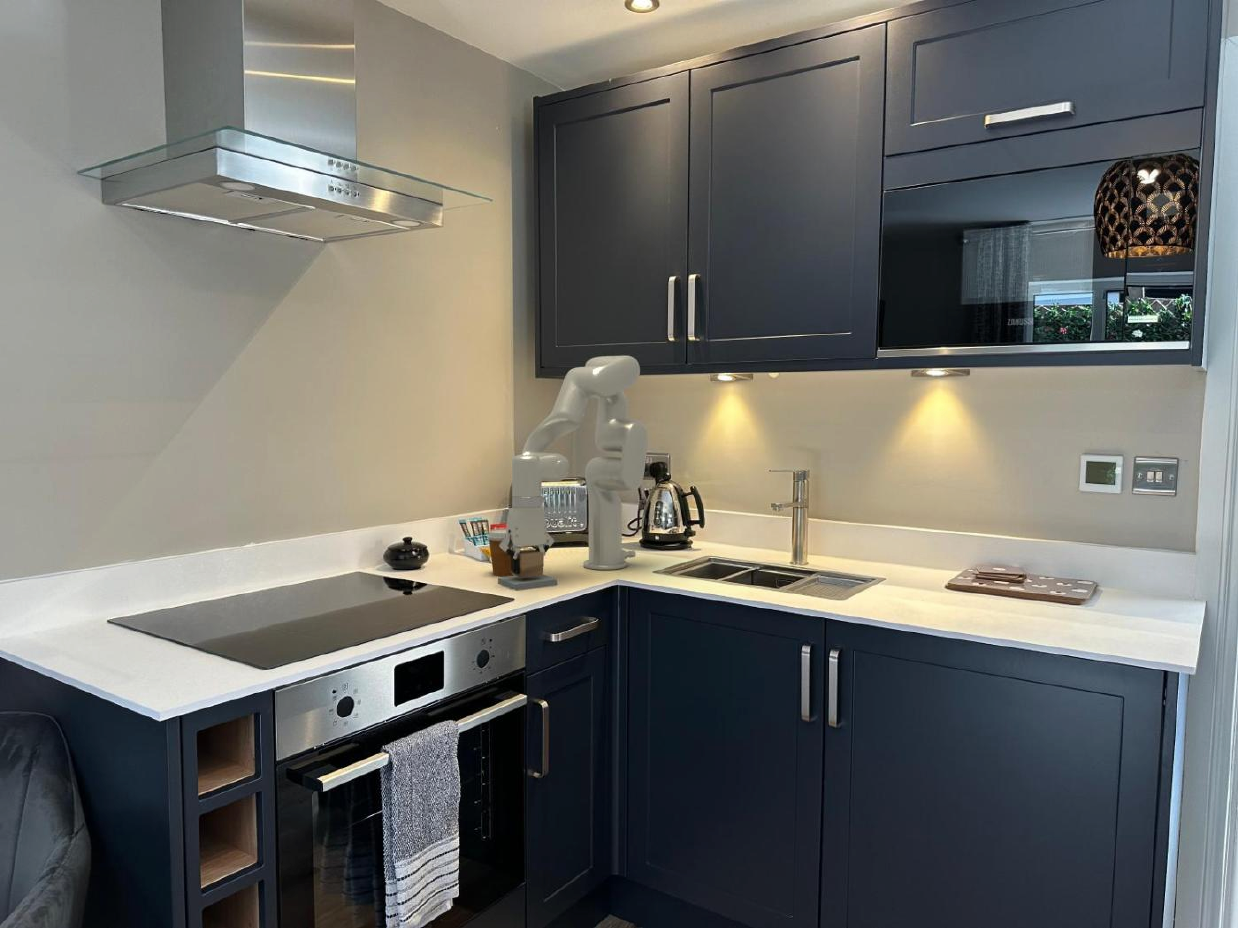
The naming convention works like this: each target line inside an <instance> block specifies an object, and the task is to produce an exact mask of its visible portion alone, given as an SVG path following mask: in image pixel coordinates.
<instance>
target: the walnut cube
mask: <svg viewBox="0 0 1238 928" xmlns="http://www.w3.org/2000/svg"><path fill="white" fill-rule="evenodd" d="M518 559H519V560H520V574H514V573H512V574H513V575H512V576H518V577H521V578H527V577H535V576H543V574H544V566H543V552H540V551H537V550H535V549H533V548H532V549H520V552H519V555H518Z"/></svg>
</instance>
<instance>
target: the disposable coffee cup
mask: <svg viewBox="0 0 1238 928" xmlns="http://www.w3.org/2000/svg"><path fill="white" fill-rule="evenodd" d="M486 537H487V540H488V543H489V552H490V559H491V566H492V567H491V568H492V575H494V576H497V577H508V576H514V575H513V574H512V570H511V558H510V557H509V556H508V555H507V554H506V553H505V551H504V550H502V549H501V548H500V547H499V545H500V543H501V542H502V541H503V540H504V538H505V537H506V528H495V529H490V530H488V534H487V535H486ZM507 546H508V547H509V549H511V547H512V546H509V545H507Z"/></svg>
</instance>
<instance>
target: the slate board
mask: <svg viewBox="0 0 1238 928" xmlns="http://www.w3.org/2000/svg"><path fill="white" fill-rule="evenodd" d="M497 585H500V586H503V587H505V588H508V589H510V590H513V589H514V590H513V591H515V590H516V591H523V590H529V589H536V588H543V587H545V588H546V587H551V586H557V585H558V579H557V578H555V577H552V576H549V575H546V574H544V573H543V576H535V577H527V578H521V577H518V576H515V575H512V576H499V577H497ZM522 589H523V590H522Z"/></svg>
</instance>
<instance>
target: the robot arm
mask: <svg viewBox="0 0 1238 928" xmlns="http://www.w3.org/2000/svg"><path fill="white" fill-rule="evenodd" d="M640 372H641V367H640V364H639V362H638V360H637V359H636V358H635V357H633V356H630V355H606V356H604V355H603V356H597V357H592V358H590V359H588V360H587V361H586V362H585V366H580V367H574V368H572V369H570V370H569V371H568V372H567V373H566V375H565V377H564V380H563V382H562V385H561V387H560V390H559V392H558V395H557V398H556V401H555V403H554V405H553V408H552V410H551V413H550V414H549V416H547V417H545V419H543V420H542V422H541V423H540V424H539V425H537V427H536V428H535V429H534V430H533V431H532V432H530V434H529V436H528V438H527V439H526V442H525V444H524V446H523V449H522V451H521V454H519V455H515V456H514V457H512V460H511V480H512V481H511V487H512V489H511V494H512V495H511V497H512V498H511V499H512V501H511V503H512V505H511V506H512V507H511V508H509V509H508V513H507V519H506V526H505V527H506V528H505V529H506V537H505V538H504V540H503V541H502V542H501V543H500V545H499V547H500V548H501V549H502V550H504V551H505V553H506V554H507V555H508V556H509V557H510V558H511V570H512V573H514V574H520V560H519V559H518V555H519V552H520V550H522V549H523V548H532V547H533V548H534V550H537V551H540V552H543V567H544V566H545V565H544V562H545V561H544V557H545V556H546V554H547V552H548V550H549V549H550V547H551V546H552V545H553V544H554V543H555V539H554V538H553V537H552V536H551V535H550V534H549V533H548V527H547V517H546V513H545V507H543V503H546V501H547V499H546V497H544V496H543V494H542V493H543V492H542V489H543V488H542V487H543V486H542V485H543V484H542V483H543V482H546V483H547V482H549V483H558V482H560V481H563V480H564V479H566V478H567V476H568V475H569V474H570V469H571V465H570V462H569V460H568V459H567V457H565V456H564V455H562V454H559V453H556V452H555V453H554V452H553V453H552V452H546V451H547V449H549V447H550V446H551V445H552V444H553V443H554V442H555V441H557V440H558V439H559V438H561V437H564V436H565V435H568V434H570V433H571V432H574V431H575V430H577V429H578V428H580V427H581V424H582V423H583V419H584V416H585V414H586V411H587V408H588V406H589V403H590V401H591V399H594V398H595V399H597V401H598V402H597V403H598V405H597V416H596V424H595V425H596V426H595V431H594V443H595V446H596V448H597V449H598V450H600V451H602V452H606V453H619V454H621V456H620V457H617V456H604V455H603V456H597V457H593V458H592V459H591V460H588V463H587V464H586V466H585V470H584V478H585V484H586V488H587V496H588V497H587V498H588V559H586V560H584V561H583V562H582V564H583V567H584V568H586V569H591V570H601V571H602V570H603V571H609V570H610V571H613V570H619V569H620V570H621V569H624V568H626V567H628V561H626V560H627V558H635V557H636V555H637V554H636V551H635V550H634V549H633V550H628V551H627V550H625V549H623V547H622V544H623V543H622V538H623V536H622V535H623V534H622V533H623V529H622V528H623V523H622V522H623V521H622V518H623V517H622V516H623V515H622V514H623V513H622V512H623V511H622V508H623V507H622V502H621V501H622V500H621V498H620V496H619V493H618V492H629V493H631V492H636V491H637V490H638V489H640V487H641V485H642V484H643V481H644V476H645V469H646V460H647V455H648V454H647V452H648V442H649V436H648V432H647V431H648V430H647V428H646V426H645V424H644V423H642V422H641V421H640V420H636V419H631V418H630V419H628V407H629V406H628V404H629V403H628V399H627V396H626V394H625V392H624V390H626V389H629V388H630V387H632V386H634V384H636V382H637V381H638V379H639V378H640V374H641V373H640ZM507 545H509V546H512V547H511V549H509V547H508V546H507Z"/></svg>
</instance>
